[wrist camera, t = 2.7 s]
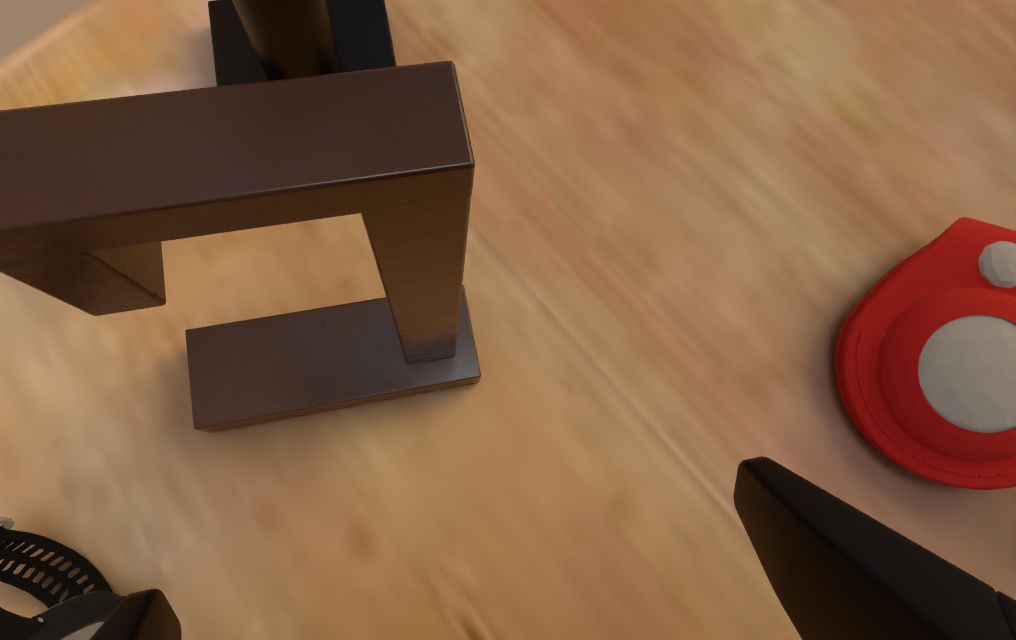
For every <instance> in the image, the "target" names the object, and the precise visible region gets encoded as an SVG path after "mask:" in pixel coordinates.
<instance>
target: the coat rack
mask: <svg viewBox="0 0 1016 640" xmlns="http://www.w3.org/2000/svg"><path fill="white" fill-rule="evenodd" d="M208 8H209V17H210V27H211V36H212V45H213V54H214V63H215V72H216V81H217V87H218V86H227V85H236V84H245V83H254V82H263V81H272V80H281V79H290V78H299V77H308V76H317V75H326V74H335V73H344V72H353V71H362V70H371V69H380V68H389V67H396V61H395V56H394V50H393V45H392V39H391V34H390V29H389V23H388V18H387V12H386V7H385V1H384V0H215V1H209V2H208Z"/></svg>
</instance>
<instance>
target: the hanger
mask: <svg viewBox="0 0 1016 640" xmlns="http://www.w3.org/2000/svg"><path fill="white" fill-rule="evenodd" d="M474 168H475V161H474V156H473V152H472V147H471V142H470V137H469V132H468V127H467V122H466V118H465V113H464V108H463V103H462V98H461V93H460V88H459V84H458V79H457V74H456V69H455V65H454V63H453V62H452V61H443V62H434V63H425V64H416V65H407V66H398V67H389V68H380V69H371V70H362V71H353V72H344V73H335V74H326V75H317V76H308V77H299V78H290V79H281V80H272V81H263V82H254V83H245V84H236V85H227V86H218V87H209V88H200V89H191V90H182V91H173V92H164V93H155V94H146V95H137V96H128V97H119V98H110V99H101V100H92V101H82V102H73V103H64V104H55V105H46V106H37V107H28V108H19V109H10V110H1V111H0V272H1V273H3V274H6V275H8V276H10V277H12V278H14V279H16V280H18V281H21V282H23V283H25V284H27V285H29V286H31V287H33V288H35V289H38V290H40V291H42V292H44V293H46V294H48V295H50V296H52V297H55V298H57V299H59V300H61V301H63V302H65V303H67V304H69V305H72V306H74V307H76V308H78V309H80V310H82V311H84V312H86V313H89V314H91V315H94V316H99V315H106V314H112V313H118V312H125V311H131V310H137V309H144V308H150V307H157V306H162V305H165V303H166V296H165V284H164V272H163V260H162V247H161V241H168V240H175V239H182V238H189V237H196V236H203V235H210V234H217V233H224V232H231V231H238V230H245V229H252V228H259V227H266V226H273V225H280V224H287V223H294V222H301V221H308V220H315V219H322V218H329V217H336V216H343V215H350V214H357V213H361V215H362V218H363V222H364V225H365V228H366V231H367V235H368V238H369V241H370V244H371V248H372V251H373V254H374V257H375V261H376V264H377V267H378V270H379V274H380V277H381V280H382V283H383V287H384V290H385V293H386V296H387V297H385V298H379V299H373V300H367V301H361V302H355V303H349V304H342V305H336V306H330V307H324V308H318V309H312V310H305V311H299V312H293V313H287V314H281V315H275V316H269V317H262V318H256V319H250V320H244V321H238V322H232V323H225V324H219V325H213V326H207V327H201V328H195V329H189V330H186V343H187V354H188V366H189V377H190V388H191V400H192V411H193V422H194V429H197V430H201V431H206V432H216V431H221V430H227V429H232V428H237V427H243V426H248V425H254V424H259V423H264V422H270V421H275V420H281V419H286V418H291V417H297V416H302V415H308V414H313V413H318V412H324V411H329V410H334V409H340V408H345V407H351V406H356V405H361V404H367V403H372V402H378V401H383V400H388V399H394V398H399V397H405V396H410V395H415V394H421V393H426V392H431V391H437V390H442V389H448V388H453V387H458V386H464V385H469V384H475V383H478V382H479V380H480V377H481V373H480V367H479V362H478V357H477V352H476V347H475V341H474V336H473V331H472V326H471V321H470V315H469V310H468V305H467V300H466V295H465V289H464V286H463V285H462V282H463V272H464V262H465V252H466V242H467V232H468V222H469V211H470V201H471V195H472V187H473V178H474Z"/></svg>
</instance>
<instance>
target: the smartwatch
mask: <svg viewBox="0 0 1016 640" xmlns="http://www.w3.org/2000/svg"><path fill="white" fill-rule="evenodd" d="M0 524H2V526H0V560H2V559H4V560H3V562H2V563H1V564H0V581H1V582H4V583H7V584H10V585H12V586H15V587H17V588H19V589H21V590H24V591H26V592H28V593H30V594H31V595H33V596H34V597H36V598H37V599H38V600H40V601H41V602H43V603H44V604H45V605H46V606H47V607H48V608H49V609H47V610H46V611H44V612H42V613H40V614H38V615H37V616H34V617H32V618H26V617H21V616H19V615H16V614H14V613H11V612H9V611H6V610H4V609H3V608H1V607H0V640H90V638H91V637H92V636H93V635H94V634H95V632H96V631H97V630H98V629H99V627H100V626H101V625H102V624H103V623H104V621H105V620H106V619H107V618H108V617H109V615H110V614H111V613H112V612H113V611H114V609H115V608H116V607H117V606H118V605H119V603H120V602H121V601H122V600H123V599H124V598H125V597H126V596H124V597H121V596H119V595H117V594H116V593H114V592H113V591H112V589H111V588H110V586H109V585H108V583H107V582H106V580H105V579H104V578H103V576H102V575H101V573H100V572H99V571H98V570H97V569H96V568H95V567H94V566H93V565H92V564H91V563H90V562H89V561H88V560H87V559H86V558H84V557H83V556H82V555H80V554H79V553H77V552H76V551H75V550H73V549H71V548H69V547H67V546H65V545H63V544H61V543H58V542H56V541H54V540H51V539H49V538H47V537H44V536H40V535H36V534H33V533H28V532H22V531H15V530H10V529H11V528H12V526H13V525H14V521H13V520H12V519H9V518H5V517H0ZM4 541H5V542H4ZM2 542H3V543H2ZM13 542H14V543H13ZM23 542H26V543H24V544H23V545H21V546H20V547H18V546H19V545H20V544H22V543H23ZM1 543H2V544H1ZM11 543H13V544H11ZM10 544H11V545H10ZM35 544H36V545H35ZM9 545H10V546H9ZM31 545H35V546H34V547H32V548H31V549H29V550H28V551H26V552H25V553H21V552H22V551H24V550H25V549H26V548H28V547H29V546H31ZM7 546H9V547H7ZM6 547H7V548H6ZM16 547H18V548H17V549H16V550H14V551H12V550H13V549H15V548H16ZM5 548H6V549H5ZM40 548H41V549H44V551H43V552H41V553H40V554H38V555H37V556H36V557H30V555H31V554H33V553H34V552H36V551H37V550H39V549H40ZM50 552H55V554H54V555H52V556H51V557H50V558H48V559H47V560H45V561H41V558H43V557H44V556H46V555H47V554H48V553H50ZM58 557H64V559H63V560H62V561H60V562H59V563H58V564H56V565H55V566H51V565H49V564H50V563H51V562H52V561H54V560H55V559H57V558H58ZM10 561H15V562H14V563H13V564H12V565H11V566H10V567H9V568H8V570H4V571H2V570H3V569H4V568H5V567H6V566H7V564H8V563H9V562H10ZM68 561H71V563H72V565H71V566H69V567H68V568H67V569H65V570H64V571H59V570H58V568H59V567H60V566H62V565H63V564H64V563H66V562H68ZM20 564H26V566H25V567H24V568H23V569H22V570H21V571H20V573H18V574H16V575H15V574H14V573H13V572H14V570H15V569H16V568H17V567H18V566H19V565H20ZM33 567H34V568H35V571H34V572H33V573H32V574H31V575H30V576H29V577H28V578H23V575H24V574H25V573H26V572H27V570H28V569H29V568H33ZM76 567H78V568H80V572H79V573H77V574H76V575H74V576H73V577H72V578H69V577H68V573H69V572H71V571H72V570H74V569H75V568H76ZM39 572H44V573H45V575H44V576H43V577H42V578H41V580H40V581H39V582H38V583H34V582H33V581H32V580H33V579H34V578H35V577H36V575H37V574H38V573H39ZM85 574H86V575H88V579H87V580H85V581H84V582H82V583H81V584H79V585H78V584H77V582H76V581H77V580H78V579H79V578H81V577H82V576H84V575H85ZM48 577H53V581H52V582H51V583H50V584H49V585H48V586H47V587H46V588H42V586H41V585H42V583H43V582H44V581H45V580H46V579H47V578H48ZM58 582H60V583H61V585H62V586H61V587H60V588H59V590H58V591H57V592H56V593H55V594H54V595H52V594H51V592H50V591H51V590H52V589H53V587H54V586H55V585H56V584H57V583H58ZM92 583H94V585H95V586H94V588H93V589H91V590H90V591H88V592H87V593H85V594H83V589H85V588H86V587H88V586H89V585H91V584H92ZM67 589H69V594H68V595H67V596H66V598H65V599H64V600H63V601H62V602H61V603H60V602H59V601H58V600H59V598H60V597H61V595H62V594H63V593H64V592H65V591H66V590H67Z"/></svg>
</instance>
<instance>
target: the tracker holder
mask: <svg viewBox="0 0 1016 640" xmlns="http://www.w3.org/2000/svg"><path fill="white" fill-rule="evenodd" d="M834 365H835V377H836V382H837V387H838V392H839V394H840V397H841V400H842V403H843V406H844V407H845V409H846V411H847V413H848V415H849V417H850V419H851V420H852V422H853V423H854V425H855V426H856V427H857V429H858V430H859V432H860V433H861V434H862V435H863V436H864V437H865V438H866V440H867V441H868V442H869V443H870V444H871V445H872V446H873V447H874V448H876V449H877V450H878V451H879V452H880V453H882V454H883V455H884V456H885V457H887V458H888V459H890V460H891V461H893V462H895V463H896V464H898V465H900V466H901V467H903V468H904V469H907V470H909V471H910V472H912V473H915V474H917V475H919V476H921V477H923V478H926V479H929V480H932V481H935V482H938V483H941V484H944V485H948V486H954V487H960V488H967V489H976V490H992V489H1002V488H1010V487H1014V486H1016V231H1014V230H1011V229H1007V228H1004V227H1000V226H996V225H993V224H989V223H985V222H982V221H978V220H975V219H971V218H967V217H963V218H960V219H958V220H957V221H956V222H955V223H953V224H952V225H951V226H950V227H949V228H948V229H946V230H945V231H944V232H943V233H942V234H941V235H940V236H939V237H937V238H936V239H935V240H933V241H932V242H930V243H929V244H928V245H926V246H925V247H923V248H922V249H920V250H919V251H917V252H916V253H914V254H913V255H912V256H910V257H908V258H906V259H904V260H903V261H902V262H900V263H899V264H898V265H897V266H895V267H894V268H893V269H892V270H890V271H889V272H888V273H887V274H886V275H885V276H884V277H883V278H882V279H881V280H880V281H879V282H878V283H877V284H876V285H875V286H874V287H873V288H872V289H871V290H870V291H869V292H868V293H866V294H865V296H864V297H863V298H862V299H861V300H860V301H859V303H858V304H857V305H856V306H855V307H854V309H853V310H852V311H851V313H850V314H849V316H848V317H847V319H846V320H845V322H844V324H843V326H842V328H841V330H840V332H839V335H838V340H837V344H836V350H835V362H834Z"/></svg>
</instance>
